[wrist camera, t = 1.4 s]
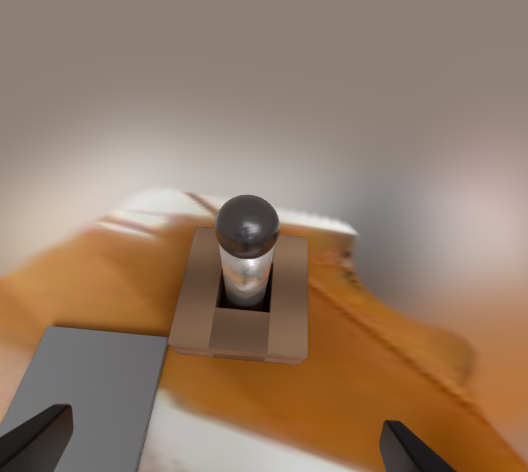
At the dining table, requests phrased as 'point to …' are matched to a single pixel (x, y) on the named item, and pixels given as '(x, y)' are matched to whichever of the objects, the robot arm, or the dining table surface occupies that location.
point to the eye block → (241, 321)
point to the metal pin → (246, 249)
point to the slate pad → (94, 394)
